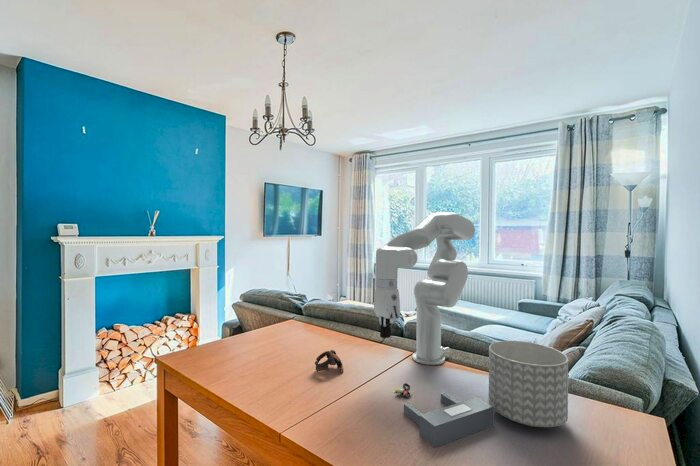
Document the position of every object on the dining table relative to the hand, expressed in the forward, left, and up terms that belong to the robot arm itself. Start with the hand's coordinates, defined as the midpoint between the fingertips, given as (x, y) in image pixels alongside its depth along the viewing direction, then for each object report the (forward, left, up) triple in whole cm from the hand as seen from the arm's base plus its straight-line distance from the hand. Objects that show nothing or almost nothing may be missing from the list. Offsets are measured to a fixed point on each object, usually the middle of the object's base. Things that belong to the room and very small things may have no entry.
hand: (385, 337), depth 115 cm
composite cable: (-1, +11, -15) cm, 18 cm away
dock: (0, +28, -15) cm, 32 cm away
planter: (-21, +37, -15) cm, 46 cm away
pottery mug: (+14, -15, -15) cm, 25 cm away
